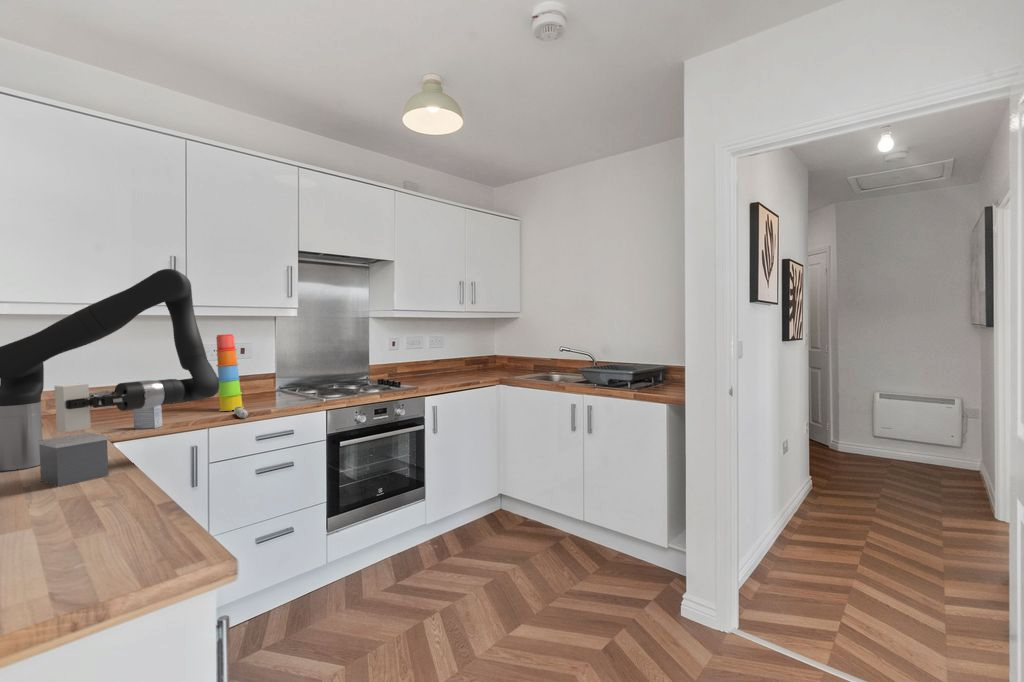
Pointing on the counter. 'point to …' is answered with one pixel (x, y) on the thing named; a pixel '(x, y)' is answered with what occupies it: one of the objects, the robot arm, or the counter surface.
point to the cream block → (71, 417)
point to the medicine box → (148, 417)
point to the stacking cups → (228, 373)
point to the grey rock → (240, 412)
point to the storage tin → (73, 458)
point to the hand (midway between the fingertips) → (61, 404)
